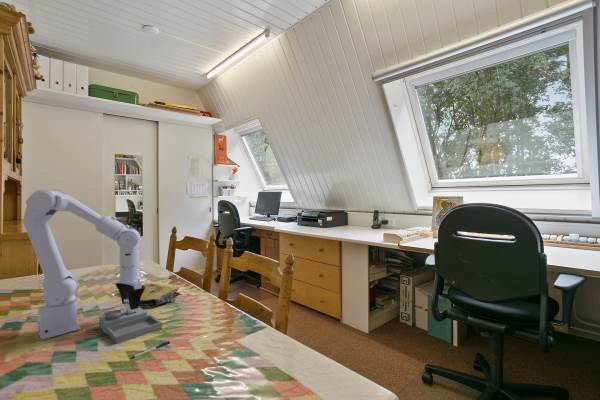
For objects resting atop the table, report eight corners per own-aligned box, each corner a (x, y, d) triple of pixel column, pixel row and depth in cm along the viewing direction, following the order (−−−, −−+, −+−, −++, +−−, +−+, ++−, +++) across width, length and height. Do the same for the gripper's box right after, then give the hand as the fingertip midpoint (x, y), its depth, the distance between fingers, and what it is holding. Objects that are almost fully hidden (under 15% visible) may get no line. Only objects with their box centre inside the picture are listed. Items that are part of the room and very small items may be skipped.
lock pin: (126, 325, 97) (125, 301, 97) (122, 321, 99) (122, 298, 99) (137, 321, 100) (137, 298, 100) (133, 318, 102) (133, 296, 102)
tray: (115, 343, 85) (115, 337, 85) (106, 333, 91) (106, 327, 91) (161, 328, 95) (161, 322, 95) (150, 320, 101) (150, 314, 101)
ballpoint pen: (168, 343, 86) (168, 339, 86) (170, 344, 86) (170, 340, 86) (130, 359, 78) (130, 355, 78) (132, 360, 77) (132, 356, 77)
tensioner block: (105, 333, 91) (105, 318, 91) (99, 326, 96) (99, 312, 96) (146, 320, 100) (146, 307, 100) (138, 315, 105) (138, 302, 105)
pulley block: (148, 272, 137) (182, 286, 118) (150, 284, 137) (184, 299, 119) (114, 284, 126) (146, 301, 107) (116, 297, 127) (149, 316, 108)
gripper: (150, 266, 97) (151, 308, 98) (134, 260, 107) (135, 297, 107) (127, 271, 92) (127, 314, 92) (112, 263, 102) (112, 302, 102)
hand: (130, 305), depth 100 cm, fingers open, 7 cm apart
